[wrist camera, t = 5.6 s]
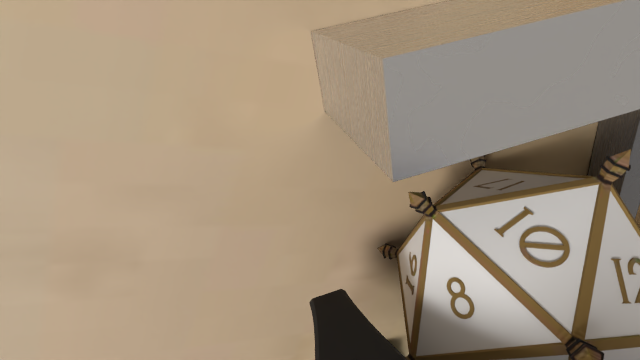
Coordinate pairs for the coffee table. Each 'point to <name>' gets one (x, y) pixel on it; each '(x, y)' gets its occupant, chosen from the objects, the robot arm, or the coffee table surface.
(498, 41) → the press frame
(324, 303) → the robot arm
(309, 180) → the coffee table surface
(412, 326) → the game die
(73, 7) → the coffee table surface
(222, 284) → the coffee table surface
